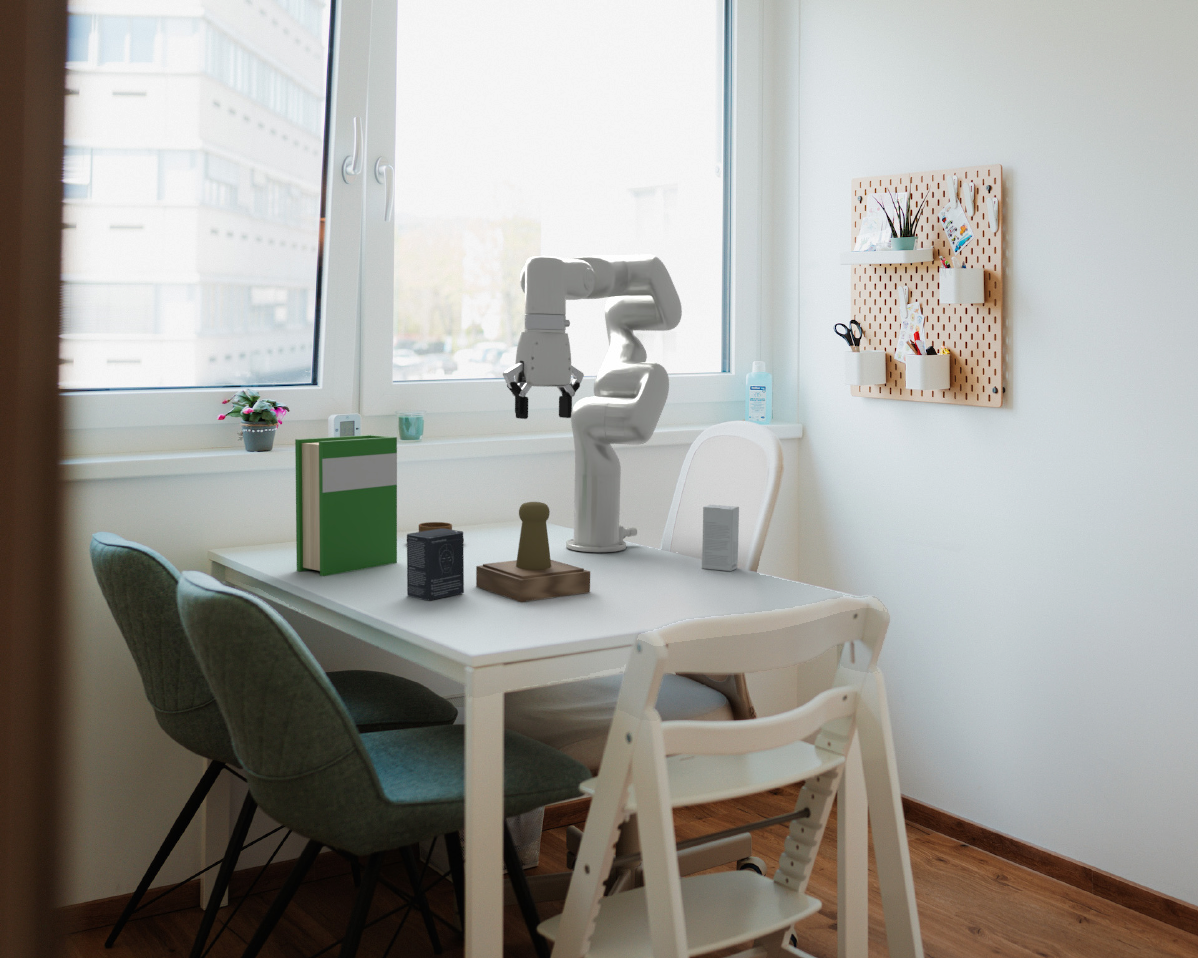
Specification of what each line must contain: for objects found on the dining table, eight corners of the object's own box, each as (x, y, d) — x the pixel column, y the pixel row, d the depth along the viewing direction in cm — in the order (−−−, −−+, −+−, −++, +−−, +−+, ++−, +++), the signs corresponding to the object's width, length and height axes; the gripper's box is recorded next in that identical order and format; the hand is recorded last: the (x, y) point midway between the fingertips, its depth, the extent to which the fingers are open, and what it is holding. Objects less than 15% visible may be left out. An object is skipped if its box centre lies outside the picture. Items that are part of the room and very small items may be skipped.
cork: (546, 570, 181) (547, 505, 180) (511, 568, 182) (512, 503, 181) (555, 563, 187) (555, 500, 186) (521, 561, 188) (522, 499, 187)
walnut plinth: (543, 578, 195) (543, 556, 194) (589, 592, 184) (590, 569, 183) (476, 586, 186) (476, 563, 186) (520, 602, 175) (520, 577, 175)
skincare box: (738, 568, 208) (740, 506, 207) (731, 571, 204) (733, 509, 203) (708, 565, 211) (710, 504, 209) (700, 568, 207) (702, 506, 205)
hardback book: (323, 576, 193) (322, 441, 190) (296, 570, 197) (295, 439, 194) (396, 562, 207) (396, 437, 204) (370, 557, 211) (370, 435, 208)
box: (441, 588, 184) (442, 527, 183) (464, 594, 181) (464, 531, 179) (405, 596, 178) (405, 532, 177) (428, 601, 175) (428, 536, 173)
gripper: (571, 327, 207) (569, 416, 209) (494, 323, 197) (493, 417, 199) (594, 326, 201) (593, 418, 203) (516, 323, 191) (515, 420, 193)
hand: (543, 418), depth 201 cm, fingers open, 9 cm apart
